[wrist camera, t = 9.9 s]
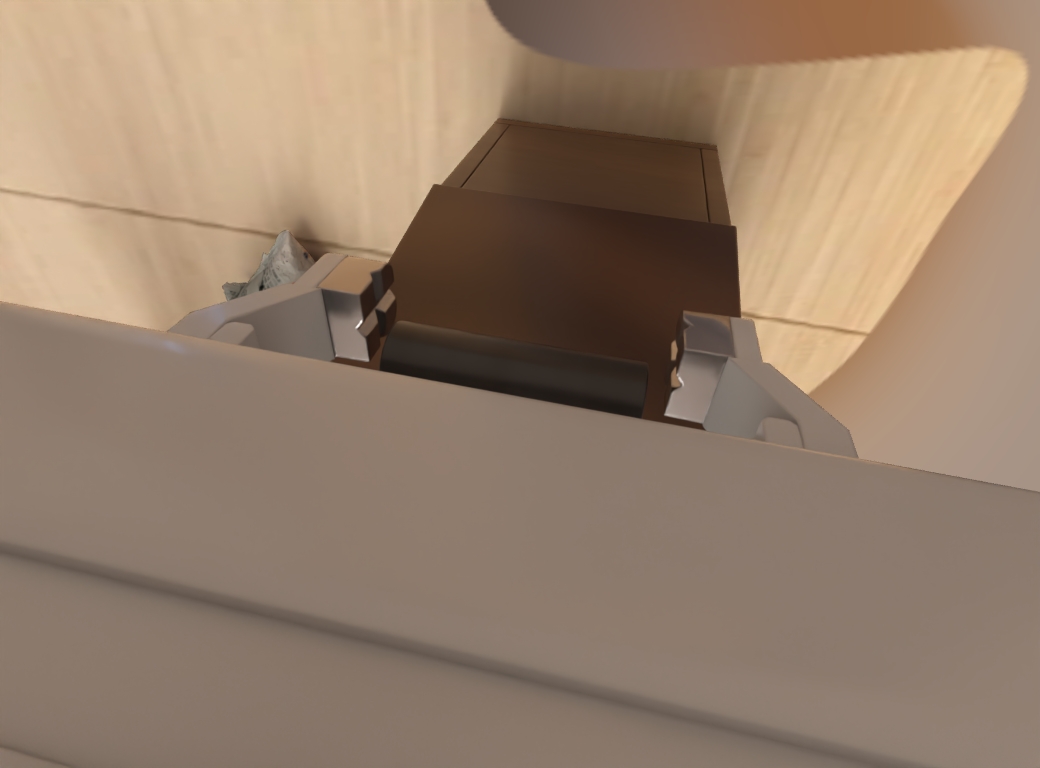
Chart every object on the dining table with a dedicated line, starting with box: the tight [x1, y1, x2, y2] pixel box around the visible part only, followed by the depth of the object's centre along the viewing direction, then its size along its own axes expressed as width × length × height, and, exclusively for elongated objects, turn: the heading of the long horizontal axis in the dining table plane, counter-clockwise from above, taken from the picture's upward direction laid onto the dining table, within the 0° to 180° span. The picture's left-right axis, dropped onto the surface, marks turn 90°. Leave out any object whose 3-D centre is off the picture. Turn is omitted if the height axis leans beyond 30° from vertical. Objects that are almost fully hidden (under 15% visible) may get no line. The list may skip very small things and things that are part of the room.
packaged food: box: [222, 230, 330, 362], centre depth 42 cm, size 9×12×5 cm
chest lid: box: [330, 184, 741, 431], centre depth 17 cm, size 15×12×5 cm
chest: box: [442, 119, 731, 225], centre depth 32 cm, size 14×12×11 cm
